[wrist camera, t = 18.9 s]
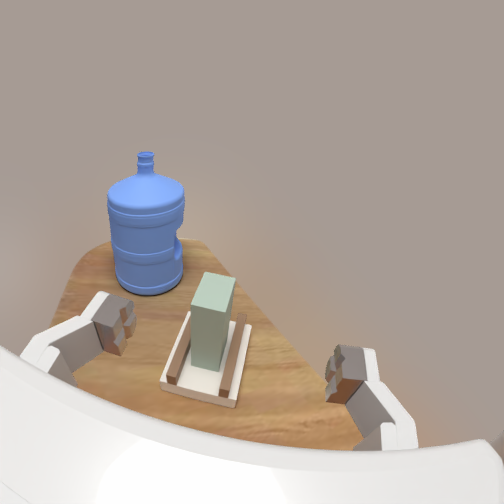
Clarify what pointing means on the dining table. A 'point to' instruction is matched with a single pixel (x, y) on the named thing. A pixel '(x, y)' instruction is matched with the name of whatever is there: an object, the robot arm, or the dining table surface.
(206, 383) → the cleat board
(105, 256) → the dining table surface
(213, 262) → the dining table surface
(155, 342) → the dining table surface
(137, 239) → the water jug
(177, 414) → the dining table surface
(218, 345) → the sage cabinet
